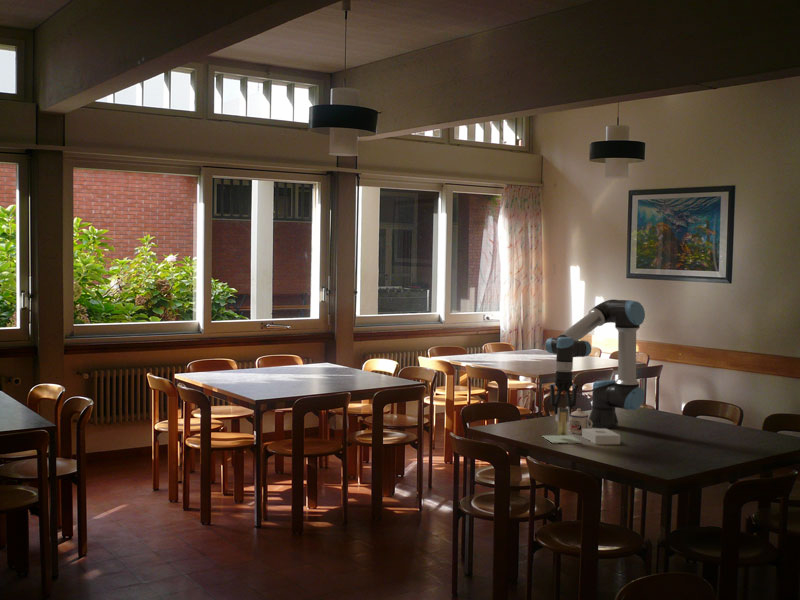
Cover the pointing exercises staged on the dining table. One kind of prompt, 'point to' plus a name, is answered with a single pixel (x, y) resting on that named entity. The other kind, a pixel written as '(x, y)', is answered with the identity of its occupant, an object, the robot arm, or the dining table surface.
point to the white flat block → (601, 436)
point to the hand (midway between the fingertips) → (562, 421)
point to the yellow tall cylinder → (562, 421)
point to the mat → (562, 439)
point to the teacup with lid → (579, 421)
